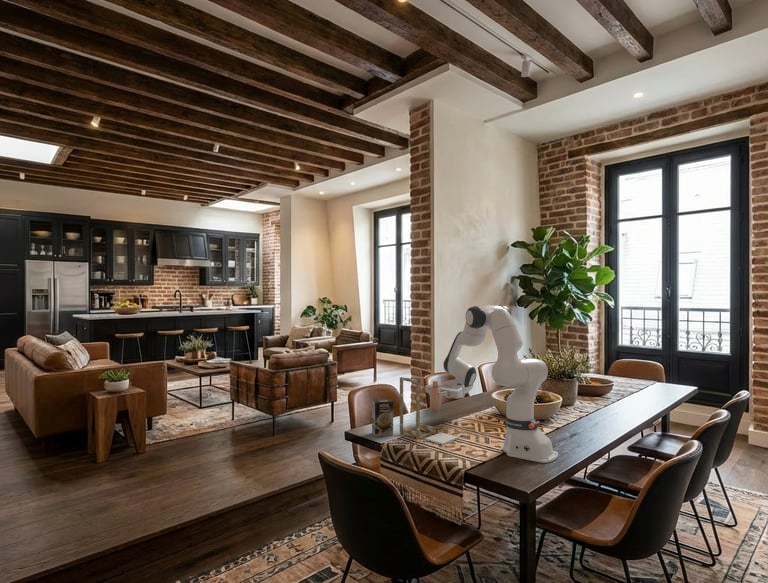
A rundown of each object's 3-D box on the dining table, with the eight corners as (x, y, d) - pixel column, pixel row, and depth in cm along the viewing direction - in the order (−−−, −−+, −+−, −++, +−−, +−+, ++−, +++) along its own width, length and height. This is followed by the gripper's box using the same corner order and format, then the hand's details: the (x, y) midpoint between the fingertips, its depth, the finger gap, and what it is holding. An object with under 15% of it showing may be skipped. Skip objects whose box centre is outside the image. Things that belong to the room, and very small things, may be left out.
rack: (436, 432, 222) (436, 376, 222) (418, 439, 212) (418, 380, 212) (418, 427, 230) (418, 373, 230) (399, 434, 220) (399, 377, 220)
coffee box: (375, 437, 216) (375, 402, 216) (371, 432, 222) (371, 399, 222) (393, 435, 218) (393, 401, 218) (390, 431, 224) (389, 398, 224)
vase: (442, 409, 231) (442, 381, 231) (436, 411, 227) (436, 383, 227) (434, 407, 234) (434, 380, 234) (428, 409, 231) (428, 381, 231)
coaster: (458, 438, 213) (458, 437, 213) (442, 445, 204) (442, 443, 204) (440, 434, 220) (440, 432, 220) (424, 440, 211) (424, 438, 211)
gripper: (434, 380, 247) (418, 384, 237) (467, 385, 233) (450, 390, 223) (434, 392, 247) (418, 396, 237) (467, 398, 233) (450, 403, 223)
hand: (434, 393), depth 230 cm, fingers closed on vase, 5 cm apart
